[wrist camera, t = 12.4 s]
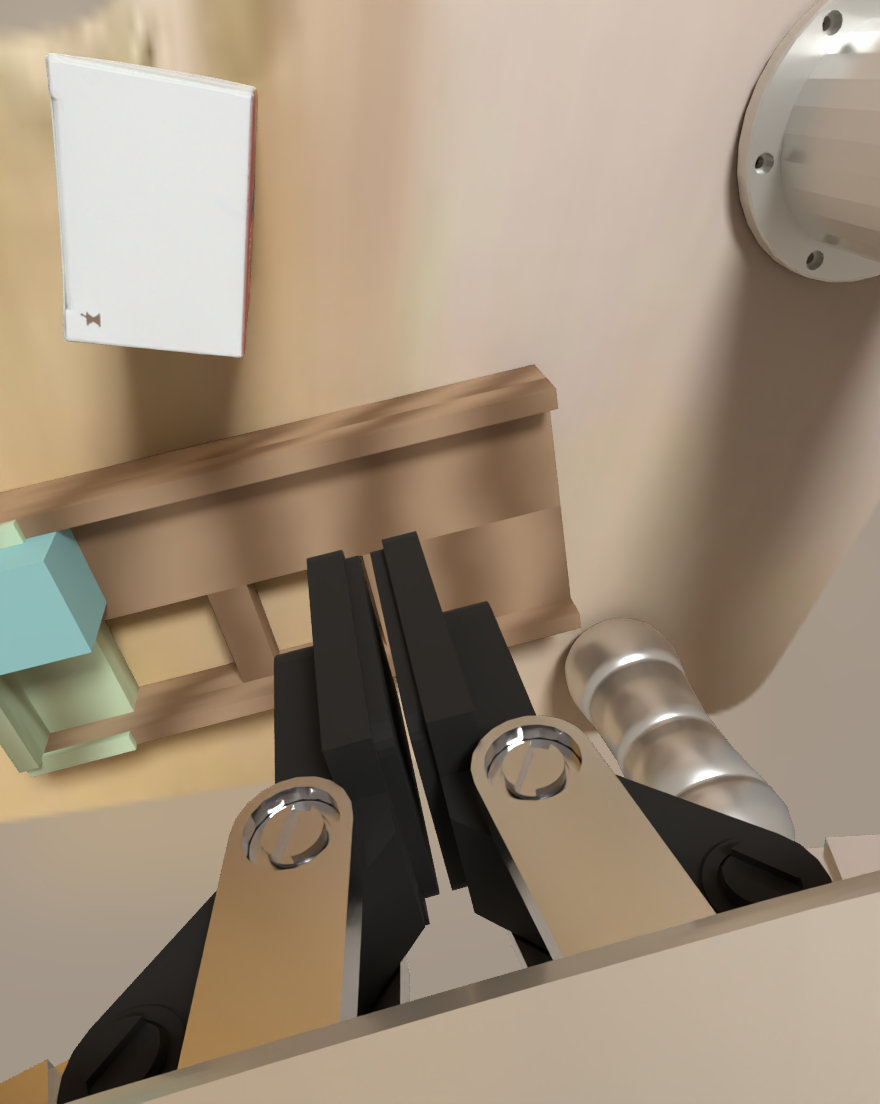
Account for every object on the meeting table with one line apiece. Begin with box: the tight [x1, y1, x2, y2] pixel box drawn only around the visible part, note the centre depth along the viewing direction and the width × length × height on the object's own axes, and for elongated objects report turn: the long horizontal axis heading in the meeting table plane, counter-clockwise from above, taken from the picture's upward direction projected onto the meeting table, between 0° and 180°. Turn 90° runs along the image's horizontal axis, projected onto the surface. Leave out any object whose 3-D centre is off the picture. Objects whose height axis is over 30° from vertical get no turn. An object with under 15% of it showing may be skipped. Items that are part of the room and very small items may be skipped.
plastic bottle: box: [565, 618, 795, 841], centre depth 41 cm, size 6×7×20 cm
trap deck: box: [0, 365, 581, 777], centre depth 40 cm, size 30×14×4 cm, turn 101°
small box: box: [46, 53, 258, 358], centre depth 28 cm, size 8×6×10 cm
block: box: [0, 528, 107, 675], centre depth 36 cm, size 5×5×4 cm
